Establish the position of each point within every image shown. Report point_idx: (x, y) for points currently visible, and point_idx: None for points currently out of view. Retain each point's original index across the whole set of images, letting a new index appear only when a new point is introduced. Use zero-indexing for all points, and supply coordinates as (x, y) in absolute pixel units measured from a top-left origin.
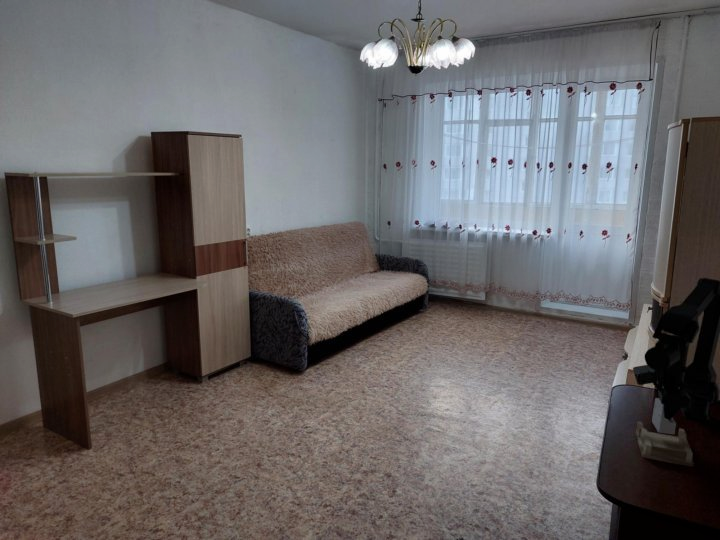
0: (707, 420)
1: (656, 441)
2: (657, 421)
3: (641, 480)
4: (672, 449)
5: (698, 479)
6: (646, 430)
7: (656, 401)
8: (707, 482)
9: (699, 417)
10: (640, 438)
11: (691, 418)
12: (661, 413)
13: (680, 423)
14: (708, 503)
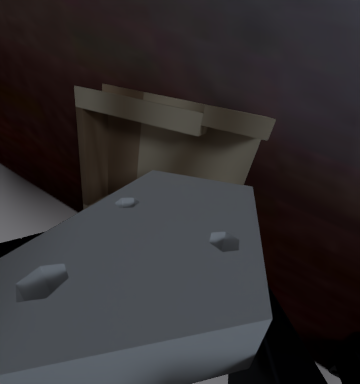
0: (330, 365)
1: (184, 163)
2: (169, 187)
3: (12, 46)
4: (83, 171)
5: (73, 189)
6: (185, 131)
7: (215, 283)
8: (70, 200)
9: (343, 363)
10: (197, 111)
11: (355, 343)
12: (84, 213)
13: (329, 299)
14: (16, 168)
